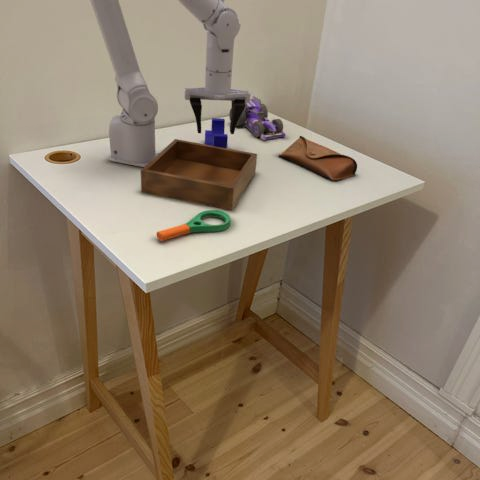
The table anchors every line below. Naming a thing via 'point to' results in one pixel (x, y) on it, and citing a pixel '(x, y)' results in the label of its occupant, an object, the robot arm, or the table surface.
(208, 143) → the cable clip
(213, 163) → the crate
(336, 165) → the sunglasses case
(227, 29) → the robot arm
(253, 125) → the toy race car
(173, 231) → the magnifying glass
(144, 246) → the table surface
